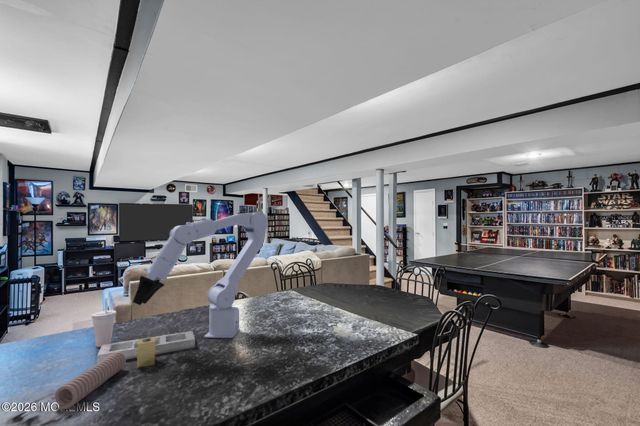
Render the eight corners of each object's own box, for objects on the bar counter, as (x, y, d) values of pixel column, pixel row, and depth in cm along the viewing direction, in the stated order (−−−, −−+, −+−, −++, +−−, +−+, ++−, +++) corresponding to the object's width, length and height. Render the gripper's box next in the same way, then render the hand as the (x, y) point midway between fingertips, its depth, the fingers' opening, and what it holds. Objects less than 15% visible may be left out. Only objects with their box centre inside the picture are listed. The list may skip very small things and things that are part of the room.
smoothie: (120, 342, 96) (121, 297, 96) (98, 350, 90) (99, 302, 91) (107, 339, 99) (108, 295, 99) (85, 346, 93) (86, 300, 93)
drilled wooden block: (158, 358, 85) (158, 335, 85) (158, 363, 81) (158, 340, 81) (134, 362, 82) (135, 339, 82) (133, 368, 78) (133, 344, 79)
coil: (109, 351, 79) (49, 389, 61) (127, 349, 79) (73, 386, 61) (110, 369, 79) (51, 412, 61) (129, 367, 79) (75, 409, 61)
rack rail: (192, 338, 99) (192, 330, 99) (194, 347, 92) (194, 338, 92) (102, 353, 88) (102, 344, 88) (97, 364, 81) (97, 355, 81)
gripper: (156, 256, 99) (131, 296, 94) (149, 252, 86) (119, 297, 81) (177, 266, 100) (153, 306, 96) (173, 263, 87) (145, 308, 82)
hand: (139, 303), depth 88 cm, fingers open, 7 cm apart
